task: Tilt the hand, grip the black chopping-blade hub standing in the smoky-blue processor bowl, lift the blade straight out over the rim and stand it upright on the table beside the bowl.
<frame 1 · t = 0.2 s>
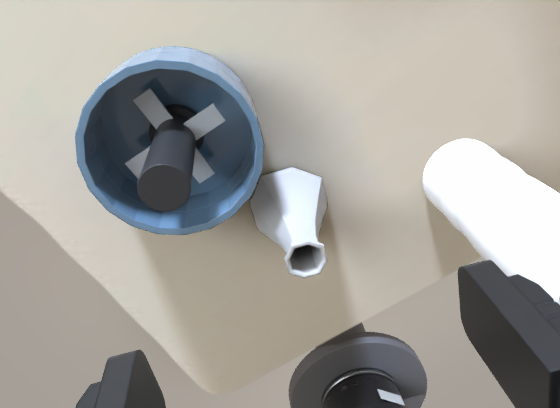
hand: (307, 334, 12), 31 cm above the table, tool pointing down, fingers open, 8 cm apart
chopping blade: (177, 130, 41), point 1 cm above the table, touching processor bowl
flask: (288, 201, 46), on the table
processor bowl: (178, 128, 41), on the table
water bottle: (455, 171, 46), on the table
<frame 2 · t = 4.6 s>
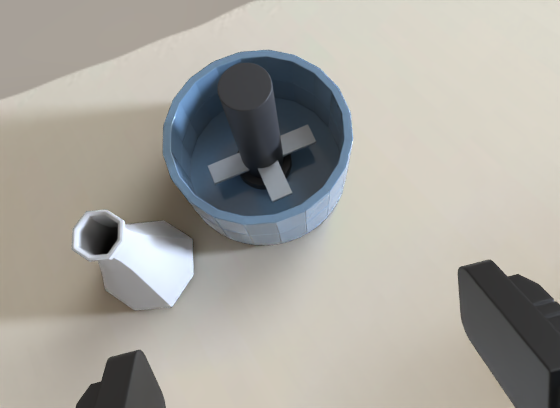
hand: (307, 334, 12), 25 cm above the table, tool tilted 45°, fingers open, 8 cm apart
chopping blade: (264, 164, 40), point 1 cm above the table, touching processor bowl
flask: (151, 265, 39), on the table
processor bowl: (265, 166, 41), on the table
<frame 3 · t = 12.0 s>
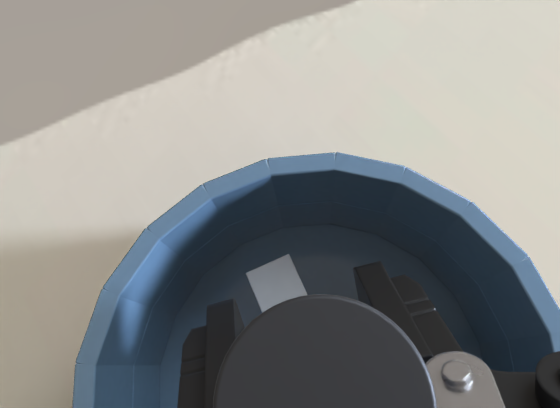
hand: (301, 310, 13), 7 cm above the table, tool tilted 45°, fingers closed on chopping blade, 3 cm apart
chopping blade: (319, 381, 18), point 1 cm above the table, touching gripper, processor bowl
processor bowl: (319, 381, 19), on the table
when the fingers open (6 cm above the table, at t = 23.2 s): chopping blade stays where it is, on the table.
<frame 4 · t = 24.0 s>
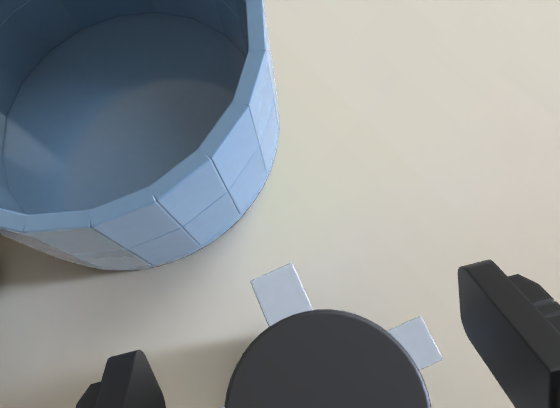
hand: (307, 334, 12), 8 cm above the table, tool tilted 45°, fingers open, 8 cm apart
chopping blade: (321, 385, 19), on the table
processor bowl: (137, 130, 23), on the table
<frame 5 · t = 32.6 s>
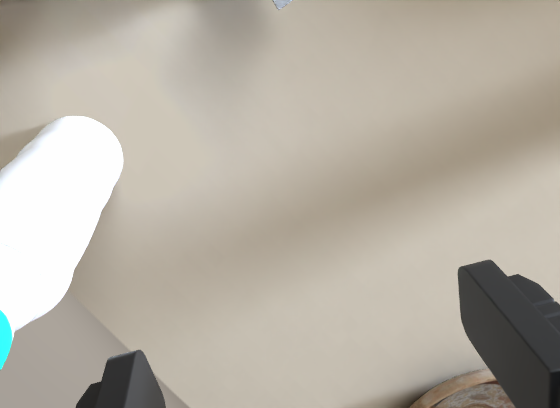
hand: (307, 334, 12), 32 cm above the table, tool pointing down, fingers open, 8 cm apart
water bottle: (82, 153, 42), on the table
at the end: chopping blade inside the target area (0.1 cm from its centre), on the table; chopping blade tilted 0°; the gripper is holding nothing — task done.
